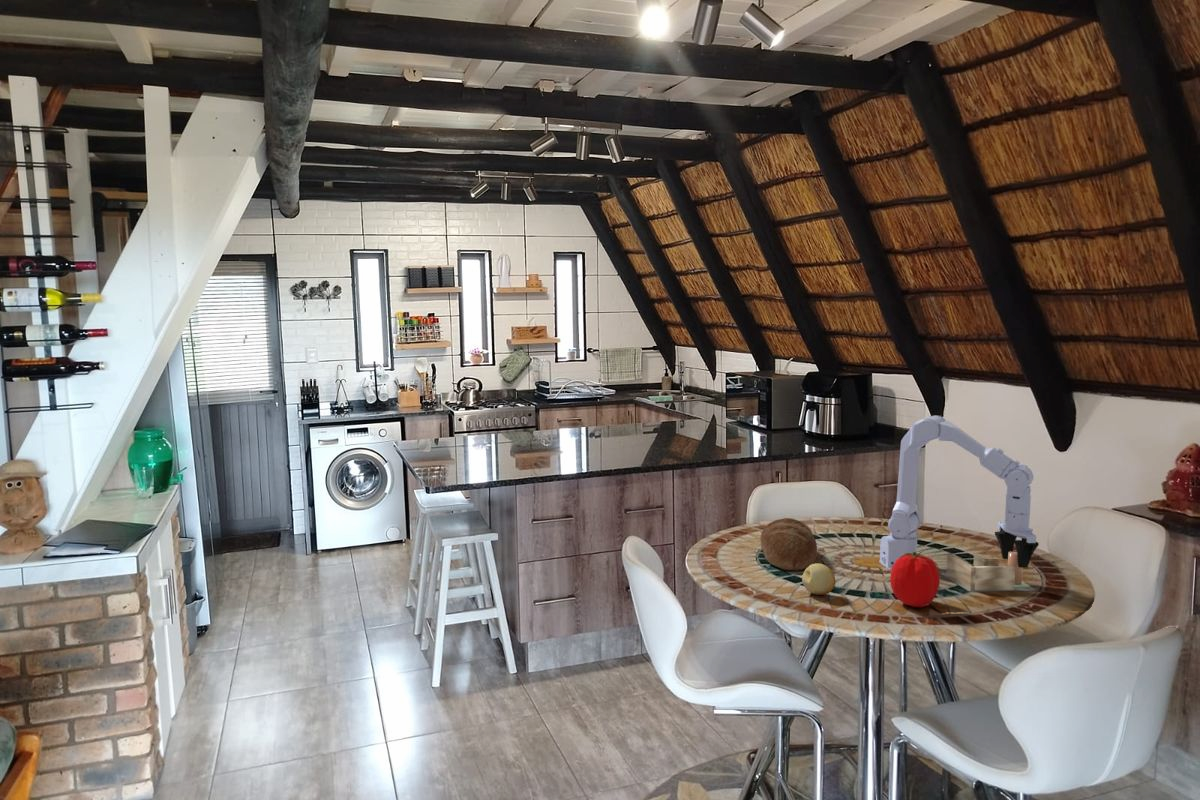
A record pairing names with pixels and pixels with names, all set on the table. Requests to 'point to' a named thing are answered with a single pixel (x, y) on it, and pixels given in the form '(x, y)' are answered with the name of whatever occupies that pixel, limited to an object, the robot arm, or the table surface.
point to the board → (994, 590)
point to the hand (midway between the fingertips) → (1014, 562)
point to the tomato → (915, 579)
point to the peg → (1018, 571)
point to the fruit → (818, 579)
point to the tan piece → (981, 573)
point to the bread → (789, 544)
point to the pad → (1022, 585)
